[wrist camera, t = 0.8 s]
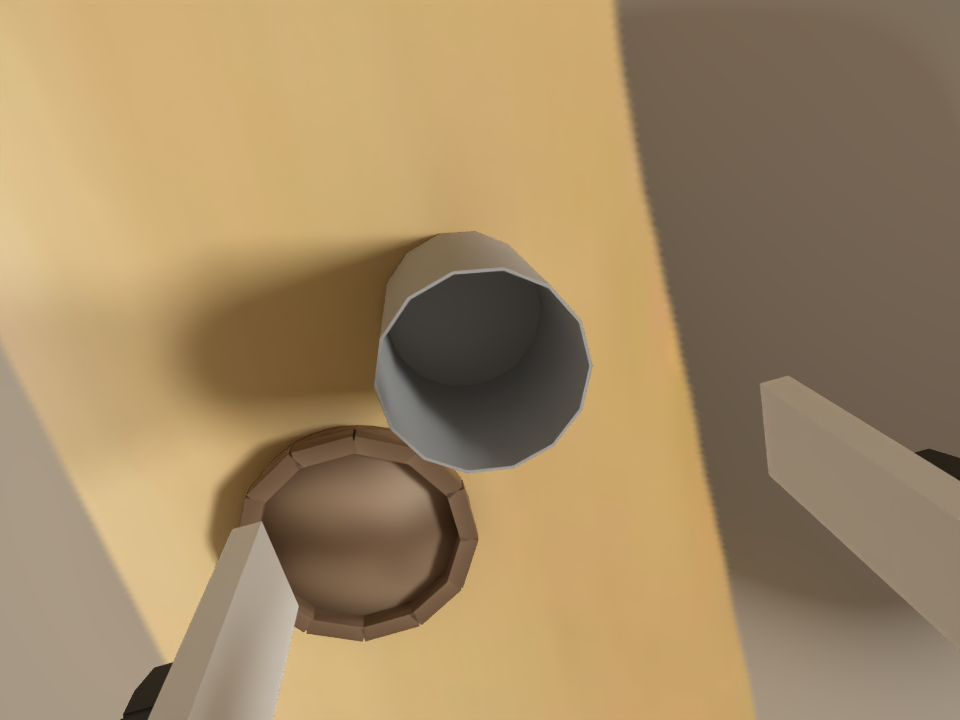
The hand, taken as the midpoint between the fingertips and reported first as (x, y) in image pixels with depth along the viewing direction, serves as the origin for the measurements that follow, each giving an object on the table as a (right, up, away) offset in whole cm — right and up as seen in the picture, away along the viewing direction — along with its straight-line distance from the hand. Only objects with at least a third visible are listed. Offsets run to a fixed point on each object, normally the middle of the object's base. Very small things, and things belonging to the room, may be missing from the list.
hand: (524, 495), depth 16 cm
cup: (-2, +6, +18) cm, 19 cm away
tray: (-8, -6, +21) cm, 23 cm away
